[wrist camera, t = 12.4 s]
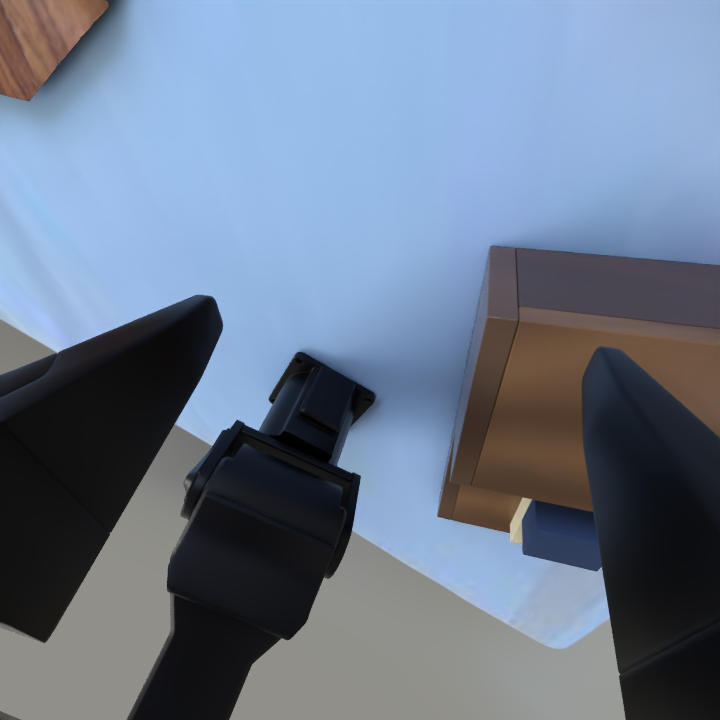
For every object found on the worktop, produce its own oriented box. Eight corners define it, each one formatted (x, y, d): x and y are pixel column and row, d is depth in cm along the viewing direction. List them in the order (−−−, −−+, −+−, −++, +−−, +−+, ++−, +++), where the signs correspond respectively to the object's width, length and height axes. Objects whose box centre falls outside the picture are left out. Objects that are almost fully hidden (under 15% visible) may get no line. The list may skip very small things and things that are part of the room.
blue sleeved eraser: (571, 537, 32) (578, 592, 29) (509, 523, 32) (510, 575, 30) (617, 473, 25) (632, 535, 23) (539, 459, 26) (544, 517, 24)
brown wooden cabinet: (639, 538, 33) (659, 621, 29) (439, 496, 36) (431, 564, 32) (894, 280, 17) (1028, 382, 12) (490, 245, 20) (486, 316, 16)
